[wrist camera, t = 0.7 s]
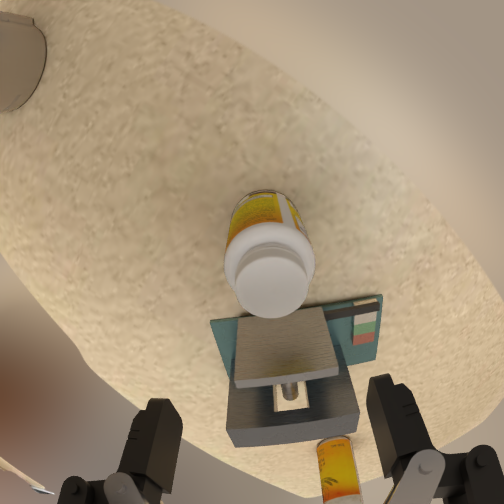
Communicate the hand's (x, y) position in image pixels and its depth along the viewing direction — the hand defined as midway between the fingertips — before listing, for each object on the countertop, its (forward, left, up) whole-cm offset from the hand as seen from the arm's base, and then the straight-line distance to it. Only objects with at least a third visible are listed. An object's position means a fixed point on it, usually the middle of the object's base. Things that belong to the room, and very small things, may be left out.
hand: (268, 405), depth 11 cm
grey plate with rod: (+12, +3, -16) cm, 20 cm away
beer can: (+40, +7, -17) cm, 44 cm away
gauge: (+13, +2, -17) cm, 21 cm away
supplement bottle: (-1, +1, -17) cm, 17 cm away
